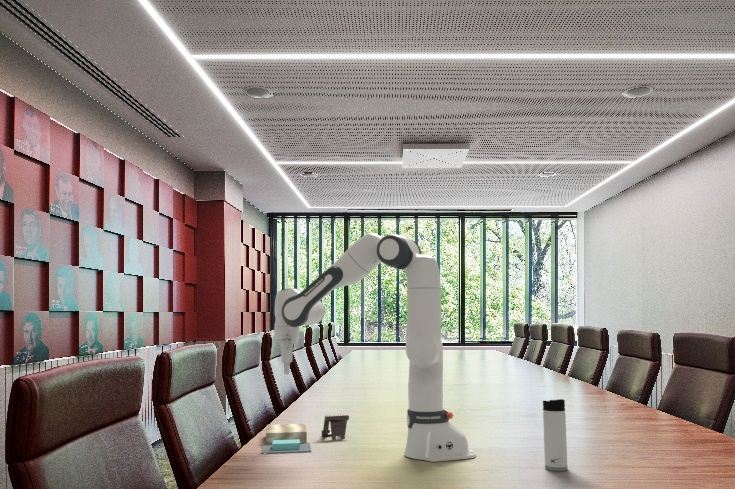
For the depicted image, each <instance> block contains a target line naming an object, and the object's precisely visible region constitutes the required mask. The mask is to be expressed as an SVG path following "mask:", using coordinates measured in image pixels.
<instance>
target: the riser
mask: <svg viewBox="0 0 735 489" xmlns="http://www.w3.org/2000/svg"><path fill="white" fill-rule="evenodd" d="M307 434H308V432H307V427H306V423H283V424H280V423H279V424H266V431H265V444H272V443H273V440H296V439H299V440H300V443H308V442H307V440H308V438H307V437H308V435H307Z"/></svg>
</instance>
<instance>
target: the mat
mask: <svg viewBox="0 0 735 489" xmlns="http://www.w3.org/2000/svg"><path fill="white" fill-rule="evenodd" d="M293 452H301V453H312V447H311V442H307V443H300V449H294V450H272V444H266V443H263V444H262V449H261V454H262V453H275V454H292V453H293ZM293 454H294V453H293Z"/></svg>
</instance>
